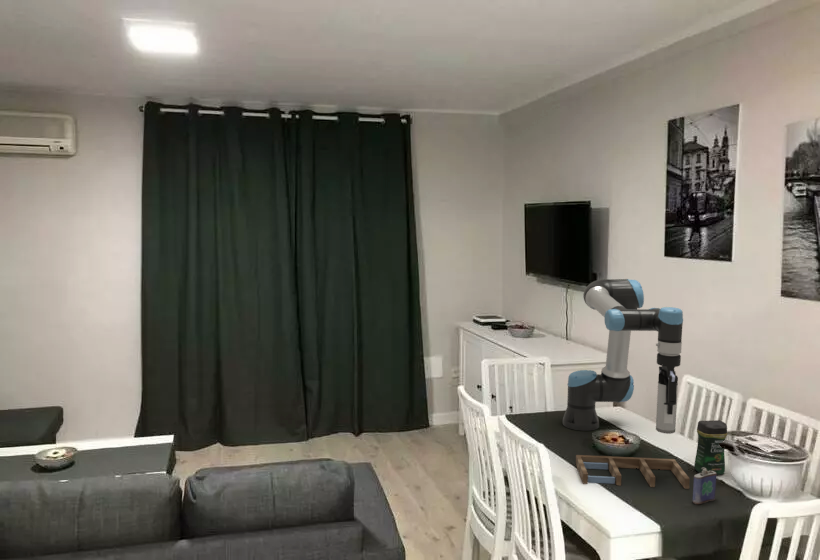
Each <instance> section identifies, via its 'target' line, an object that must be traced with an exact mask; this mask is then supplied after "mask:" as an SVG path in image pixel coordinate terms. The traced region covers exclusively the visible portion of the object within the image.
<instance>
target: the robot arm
mask: <svg viewBox="0 0 820 560" xmlns="http://www.w3.org/2000/svg"><path fill="white" fill-rule="evenodd" d="M582 294H583V297H582V299H583V301H584V303H585V305H586V306H587V307H589V308H590V309H591V310H595V311H597V313H599V314H600V315H601V316H602V317H603V318H604V325H605V328H606V329H607V330H608V338H607V339H608V340H607V349H606V361H605V366H604V367H602V368H601V372H600V373H599V374H597V372H596V371H595V370H591V369H590V370H589V369H581V370H575V371H573V372H571V373H570V374H568V378H567V400H566V401H567V403H566V404H567V406H566V409H565V412H564V414H563V417H562V425H563V427H565V428H567V429H571V430H575V431H582V432H583V431H584V432H585V431H586V432H587V431H595V430H597V429H599V427H600V421H599V417H598V414H597V411H596V403H621V402H622V403H623V402H629V400H631V398H632V397H633V394H634V389H635V385H634V377H633V376H632V375H631V372H630V371H629V370H628V360H629V350H630V344H631V343H630V342H631V333H632V332H633V331H634V332H635V331H636V332H637V331H638V332H646V331H647V332H654V331H655V332H657V343H655V346H656V347H657V350H656V351H657V354H656V364H657V365H658V366H659V367H658V375H659V374H660V373H661V374H662V375H664V376H667V378H668V383H667V382H666V380H665V379H664V383H665V384H666V403H664V405H665V412H664V423H672V424H673V411H674V405H676V392H677V393H678V390H677V378H678V379H679V377H678V375H676V374H677V372H676V371H675V368H676V367H677V368H678V367H680V366H681V359H682V356H681V355H680V354H681V353H682V345H683V343H682V342H683V341H682V337H683V325H684V324H683V323H684V318H683V317H684V314H683V309H681V308H678V307H673V306H672V307H669V306H665V307H663V306H662V307H661V308H659V307H651V308H648V309H644V308H643V306H644V301H645V294H644V289H643V286H642V285H641V283H640V282H639V281H638V280H636V279H629V278H623V279H621V278H620V279H619V278H618V279H613V278H612V279H611V278H610V279H609V278H608V279H605V278H604V279H603V278H602V279H597V280H594V281H592V282H590V283H589V284H588V285H587V286H586V287H585V289H584V291H583V293H582ZM642 308H643V309H642Z"/></svg>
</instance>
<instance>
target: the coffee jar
mask: <svg viewBox="0 0 820 560" xmlns="http://www.w3.org/2000/svg"><path fill="white" fill-rule="evenodd" d="M696 432H697V446H696V453H695V459H694V470H695V471H697V473H698V474H699V473H702V471H703V469H704V468H703V467H705V468H706V470H707V471H714V472H716V473H717V476H718V475H723V474H725V472H726V461H725V459H726V458H725V447H724V448H722V447H721V446H720V445H719V443H722V442H723V441H724V440H725V441H726V438H727V436H728V426H727V422H724V421H722V420H720V419H717V420H715V419H713V420H698V422H697V427H696ZM701 468H703V469H701Z"/></svg>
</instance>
